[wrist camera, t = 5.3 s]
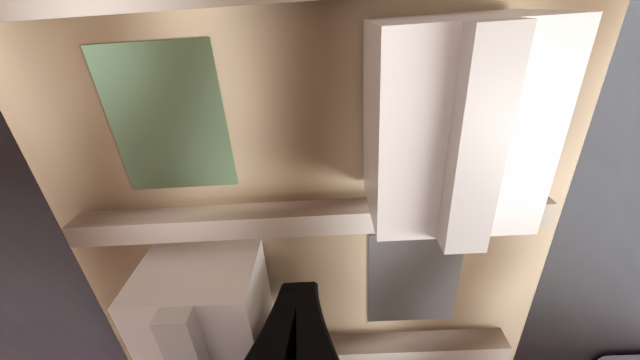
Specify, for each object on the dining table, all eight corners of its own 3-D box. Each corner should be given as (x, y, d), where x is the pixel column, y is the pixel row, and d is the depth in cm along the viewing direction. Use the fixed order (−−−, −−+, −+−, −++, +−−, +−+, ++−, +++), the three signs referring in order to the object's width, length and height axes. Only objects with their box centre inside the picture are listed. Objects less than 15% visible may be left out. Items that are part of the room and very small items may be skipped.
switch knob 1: (261, 238, 12) (240, 321, 9) (277, 331, 15) (265, 423, 11) (152, 244, 12) (94, 327, 9) (186, 334, 15) (149, 426, 12)
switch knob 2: (517, 8, 9) (629, 12, 6) (485, 178, 11) (551, 249, 8) (363, 18, 9) (387, 28, 6) (363, 185, 11) (380, 257, 8)
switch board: (593, -57, 10) (693, -79, 7) (476, 388, 20) (500, 446, 18) (0, -14, 10) (-109, -20, 8) (180, 398, 21) (159, 456, 18)
